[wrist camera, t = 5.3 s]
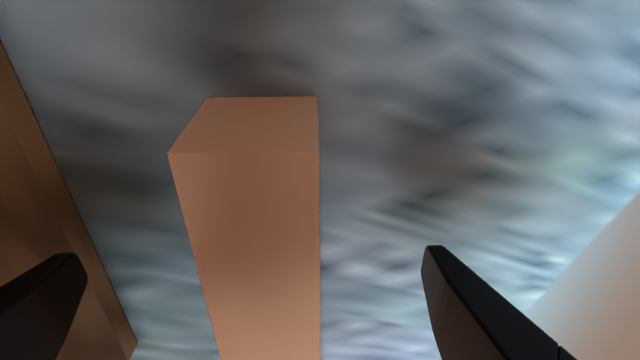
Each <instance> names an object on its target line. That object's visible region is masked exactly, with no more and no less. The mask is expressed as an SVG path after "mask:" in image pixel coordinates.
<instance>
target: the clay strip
mask: <svg viewBox="0 0 640 360" xmlns="http://www.w3.org/2000/svg"><path fill="white" fill-rule="evenodd" d="M167 156H168V160H169V163H170V167H171V171H172V175H173V179H174V183H175V186H176V190H177V194H178V198H179V202H180V205H181V209H182V213H183V217H184V221H185V225H186V228H187V232H188V236H189V240H190V244H191V248H192V251H193V255H194V259H195V263H196V267H197V271H198V274H199V278H200V282H201V286H202V290H203V293H204V297H205V301H206V305H207V309H208V313H209V316H210V320H211V324H212V328H213V332H214V336H215V339H216V343H217V347H218V351H219V355H220V359H221V360H320V151H319V129H318V106H317V96H304V97H216V98H206V99H205V101H204V102H203V103H202V105H201V106H200V108H199V109H198V110H197V112H196V113H195V115H194V116H193V117H192V119H191V120H190V122H189V123H188V124H187V126H186V127H185V129H184V130H183V132H182V133H181V134H180V136H179V137H178V139H177V140H176V141H175V143H174V144H173V146H172V147H171V148H170V150H169V151H168V153H167Z"/></svg>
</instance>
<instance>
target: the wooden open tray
mask: <svg viewBox="0 0 640 360" xmlns="http://www.w3.org/2000/svg"><path fill="white" fill-rule="evenodd" d="M63 252H73V253H76V254H77V255H78V256H79V258H80V260H81V262H82V264H83V266H84V268H85V270H86V272H87V274H88V283H87V286H86V289H85V292H84V294H83V297H82V299H81V302H80V305H79V307H78V310H77V313H76V315H75V318H74V320H73V323H72V326H71V328H70V331H69V333H68V336H67V338H66V340H65V342H64V345H63V347H62V349H61V351H60V353H59V355H58V357H57V359H56V360H130V358H131V356H132V353H133V351H134V349H135V347H136V344H137V341H136V338H135V336H134V334H133V332H132V330H131V327H130V325H129V323H128V321H127V319H126V316H125V314H124V312H123V310H122V308H121V305H120V303H119V301H118V299H117V297H116V294H115V292H114V290H113V288H112V286H111V283H110V281H109V279H108V277H107V275H106V272H105V270H104V268H103V266H102V264H101V262H100V259H99V257H98V255H97V253H96V251H95V248H94V246H93V244H92V242H91V240H90V237H89V235H88V233H87V231H86V229H85V226H84V224H83V222H82V220H81V218H80V215H79V213H78V211H77V209H76V207H75V204H74V202H73V200H72V198H71V196H70V193H69V191H68V189H67V187H66V185H65V182H64V180H63V178H62V176H61V174H60V171H59V169H58V167H57V165H56V163H55V160H54V158H53V156H52V154H51V152H50V149H49V147H48V145H47V143H46V141H45V138H44V136H43V134H42V132H41V130H40V127H39V125H38V123H37V121H36V119H35V116H34V114H33V112H32V110H31V108H30V105H29V103H28V101H27V99H26V97H25V95H24V92H23V90H22V88H21V86H20V84H19V81H18V79H17V77H16V75H15V73H14V70H13V68H12V66H11V64H10V62H9V59H8V57H7V55H6V53H5V51H4V48H3V46H2V44H1V42H0V287H1V286H2V285H4V284H6V283H7V282H9V281H11V280H13V279H14V278H16V277H18V276H19V275H21V274H23V273H24V272H26V271H28V270H29V269H31V268H33V267H34V266H36V265H38V264H39V263H41V262H43V261H44V260H46V259H48V258H49V257H51V256H53V255H54V254H57V253H63Z"/></svg>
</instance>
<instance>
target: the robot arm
mask: <svg viewBox="0 0 640 360" xmlns="http://www.w3.org/2000/svg"><path fill="white" fill-rule="evenodd" d="M421 277H422V282H423V287H424V292H425V297H426V301H427V306H428V311H429V316H430V321H431V325H432V330H433V333H434V337H435V340H436V343H437V346H438V349H439V352H440V355H441V358H442V360H577V359H576V358H575V357H573V356H572V355H571V354H570V353H569V352H567V351H566V350H565V349H564V348H563V347H562V346H558V344H557V342H555V341H554V340H553V339H552V338H551V337H550V336H548V335H547V334H546V333H545V332H544V331H543V330H541V329H540V328H539V327H538V326H536V325H535V324H534V323H533V322H532V321H531V320H530V319H528V318H527V317H526V316H525V315H524V314H523V313H521V312H520V311H519V310H518V309H517V308H516V307H514V306H513V305H512V304H511V303H510V302H509V301H507V300H506V299H505V298H504V297H503V296H501V295H500V294H499V293H498V292H497V291H496V290H494V289H493V288H492V287H491V286H490V285H489V284H487V283H486V282H485V281H484V280H483V279H482V278H480V277H479V276H478V275H477V274H476V273H474V272H473V271H472V270H471V269H470V268H469V267H467V266H466V265H465V264H464V263H463V262H462V261H460V260H459V259H458V258H457V257H456V256H454V255H453V254H452V253H451V252H450V251H449V250H447V249H446V248H445V247H444V246H441V245H429V246H427V247H426V248H425V251H424V256H423V261H422V266H421ZM87 283H88V274H87V272H86V270H85V268H84V266H83V264H82V262H81V260H80V258H79V256H78V255H77V254H76V253H73V252H63V253H57V254H54V255H53V256H51V257H49V258H48V259H46V260H44V261H43V262H41V263H39V264H38V265H36V266H34V267H33V268H31V269H29V270H28V271H26V272H24V273H23V274H21V275H19V276H18V277H16V278H14V279H13V280H11V281H9V282H7V283H6V284H4V285H2V286H1V287H0V360H56V359H57V357H58V355H59V353H60V351H61V349H62V347H63V345H64V342H65V340H66V338H67V336H68V333H69V331H70V328H71V326H72V323H73V320H74V318H75V315H76V313H77V310H78V307H79V305H80V302H81V299H82V297H83V294H84V292H85V289H86V286H87Z"/></svg>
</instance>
